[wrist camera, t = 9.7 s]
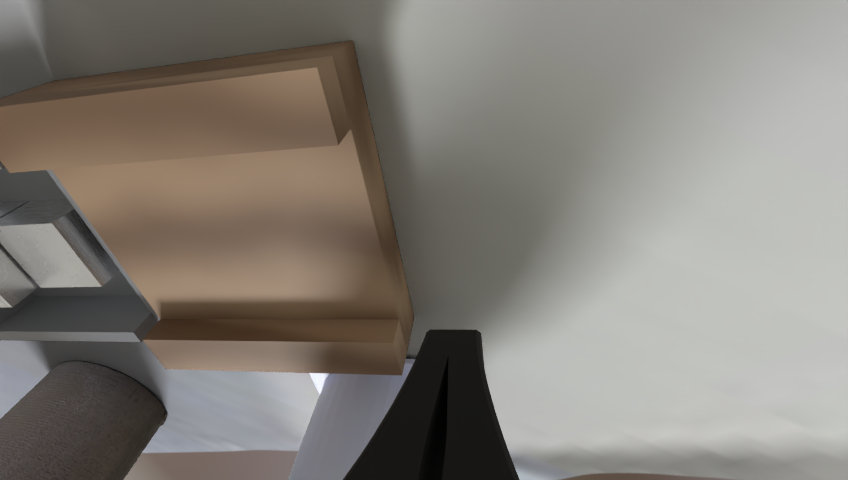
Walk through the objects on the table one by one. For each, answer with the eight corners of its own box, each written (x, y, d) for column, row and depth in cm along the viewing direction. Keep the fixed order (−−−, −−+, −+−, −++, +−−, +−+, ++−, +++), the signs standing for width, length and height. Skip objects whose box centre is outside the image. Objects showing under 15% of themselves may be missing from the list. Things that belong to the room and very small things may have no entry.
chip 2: (134, 256, 24) (102, 286, 22) (77, 258, 24) (40, 287, 22) (93, 196, 21) (52, 223, 19) (31, 200, 22) (-15, 226, 20)
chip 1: (12, 307, 21) (-26, 307, 22) (75, 258, 24) (41, 259, 25) (-50, 245, 19) (-91, 247, 19) (28, 200, 22) (-8, 202, 23)
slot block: (414, 317, 24) (402, 375, 21) (204, 317, 27) (165, 368, 24) (352, 40, 16) (316, 67, 12) (53, 80, 18) (-40, 111, 15)
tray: (189, 298, 26) (153, 342, 23) (41, 300, 28) (-9, 339, 25) (73, 118, 19) (3, 149, 17) (-108, 139, 22) (-198, 169, 19)
